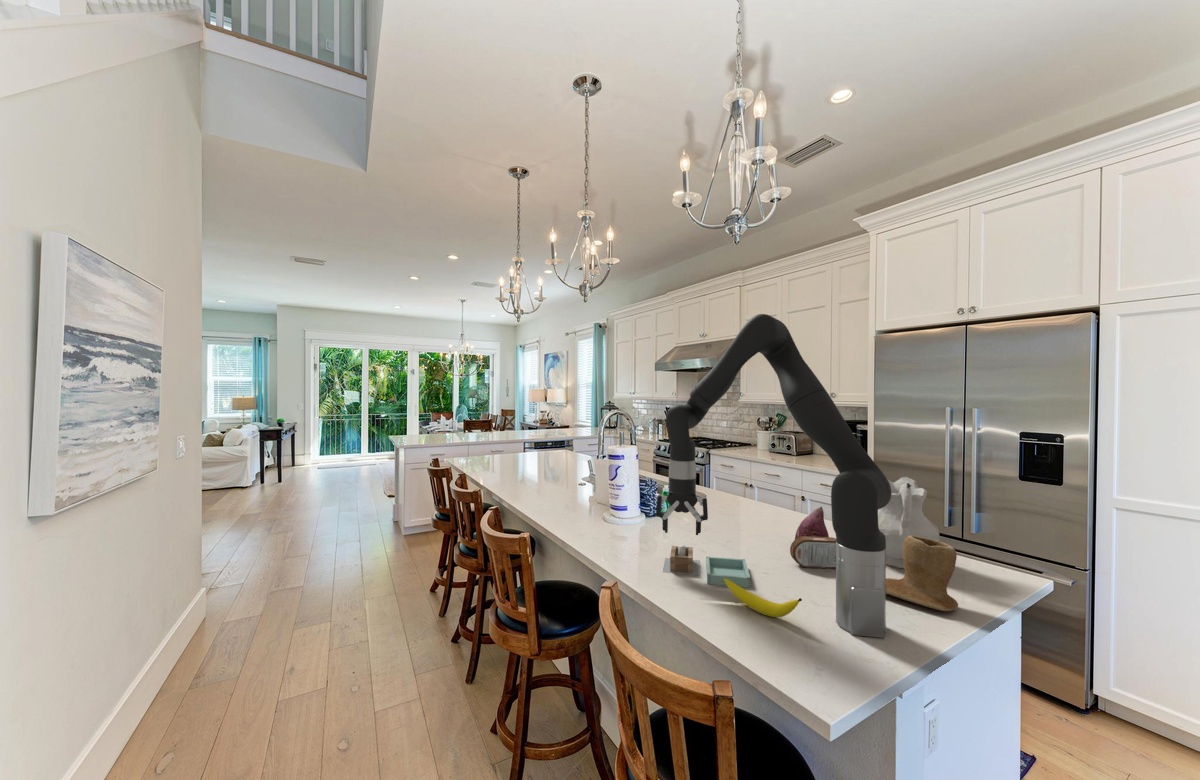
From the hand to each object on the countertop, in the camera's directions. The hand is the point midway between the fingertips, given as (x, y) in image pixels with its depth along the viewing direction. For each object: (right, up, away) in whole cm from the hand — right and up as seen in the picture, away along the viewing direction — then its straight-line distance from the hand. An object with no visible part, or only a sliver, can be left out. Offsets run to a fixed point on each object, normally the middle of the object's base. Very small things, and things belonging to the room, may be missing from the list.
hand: (681, 533), depth 131 cm
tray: (+11, -10, -7) cm, 16 cm away
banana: (+13, -10, -26) cm, 31 cm away
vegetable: (+44, -10, +17) cm, 49 cm away
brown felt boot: (+53, -10, -20) cm, 58 cm away
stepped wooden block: (0, -9, 0) cm, 9 cm away
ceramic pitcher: (+64, -10, +4) cm, 65 cm away
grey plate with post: (0, -10, 0) cm, 10 cm away
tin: (+39, -10, +1) cm, 40 cm away
